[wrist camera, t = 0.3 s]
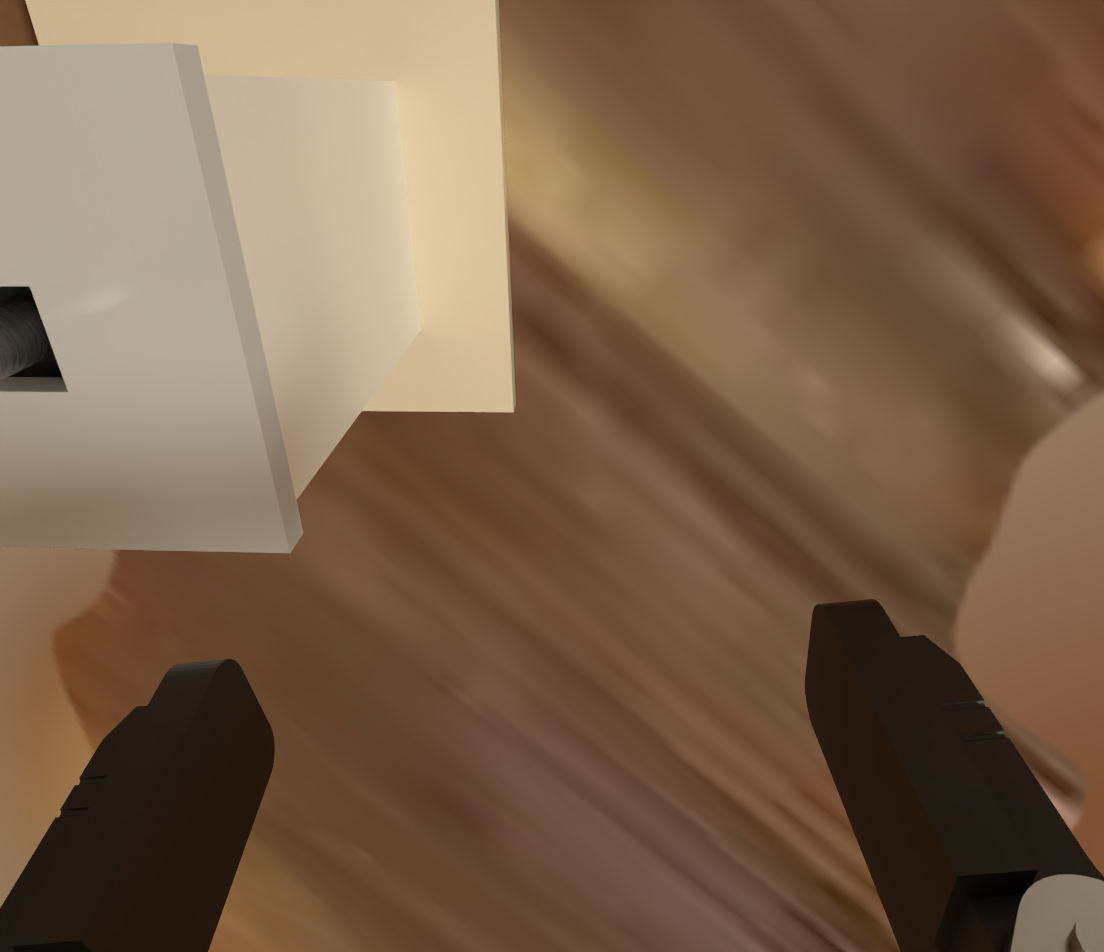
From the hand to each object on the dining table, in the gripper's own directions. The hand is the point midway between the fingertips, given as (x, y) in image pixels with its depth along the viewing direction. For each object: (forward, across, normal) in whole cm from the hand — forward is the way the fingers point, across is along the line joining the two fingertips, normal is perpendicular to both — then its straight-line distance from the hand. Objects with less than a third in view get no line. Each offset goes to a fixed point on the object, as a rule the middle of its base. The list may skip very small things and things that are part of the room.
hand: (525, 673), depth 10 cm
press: (+30, +11, -1) cm, 32 cm away
